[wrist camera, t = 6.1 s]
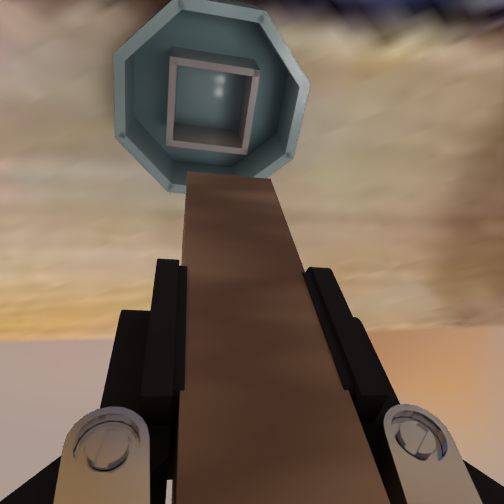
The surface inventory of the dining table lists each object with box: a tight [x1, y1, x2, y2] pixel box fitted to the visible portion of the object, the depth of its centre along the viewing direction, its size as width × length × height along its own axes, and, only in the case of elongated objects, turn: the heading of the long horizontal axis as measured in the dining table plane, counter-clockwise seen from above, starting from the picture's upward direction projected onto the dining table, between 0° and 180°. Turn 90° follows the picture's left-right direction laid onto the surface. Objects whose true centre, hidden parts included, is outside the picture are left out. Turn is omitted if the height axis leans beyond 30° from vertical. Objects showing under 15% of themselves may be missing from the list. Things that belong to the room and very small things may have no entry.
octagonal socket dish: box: [113, 0, 310, 194], centre depth 26 cm, size 11×11×4 cm
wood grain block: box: [172, 171, 390, 504], centre depth 11 cm, size 3×3×12 cm
